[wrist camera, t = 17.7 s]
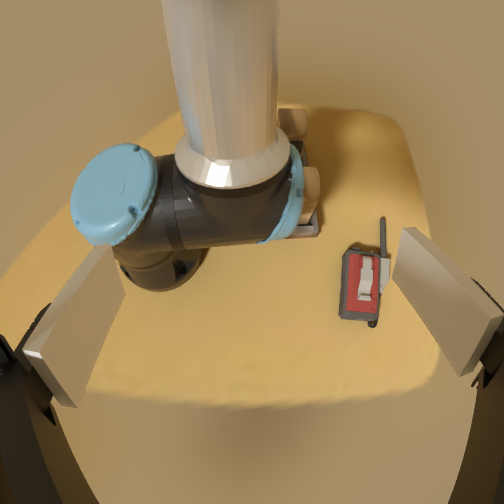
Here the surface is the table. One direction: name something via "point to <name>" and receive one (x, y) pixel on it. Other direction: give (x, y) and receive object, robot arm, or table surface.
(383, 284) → the walkie-talkie
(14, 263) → the table surface
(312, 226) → the rail
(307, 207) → the block
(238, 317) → the table surface
